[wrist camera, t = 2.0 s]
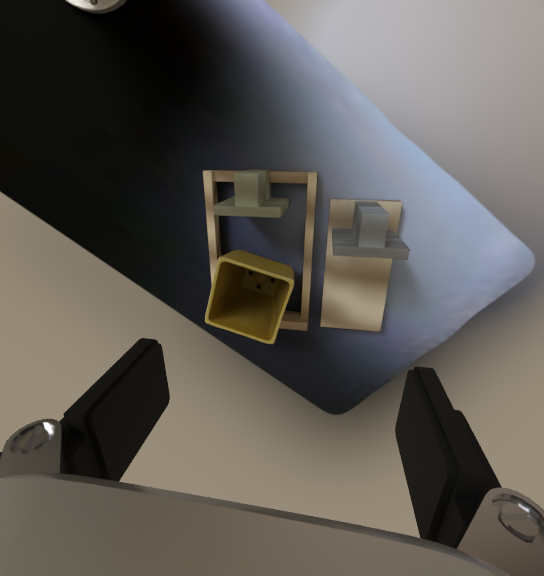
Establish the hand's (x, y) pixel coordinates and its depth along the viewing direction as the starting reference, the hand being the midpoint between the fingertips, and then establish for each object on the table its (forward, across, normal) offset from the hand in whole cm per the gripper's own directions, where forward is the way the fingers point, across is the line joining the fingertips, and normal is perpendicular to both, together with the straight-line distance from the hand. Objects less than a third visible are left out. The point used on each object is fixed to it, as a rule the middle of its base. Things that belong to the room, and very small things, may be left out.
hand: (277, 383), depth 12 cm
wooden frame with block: (+30, +6, +4) cm, 31 cm away
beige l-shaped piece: (+30, -6, +5) cm, 31 cm away
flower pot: (+30, +6, +7) cm, 32 cm away
